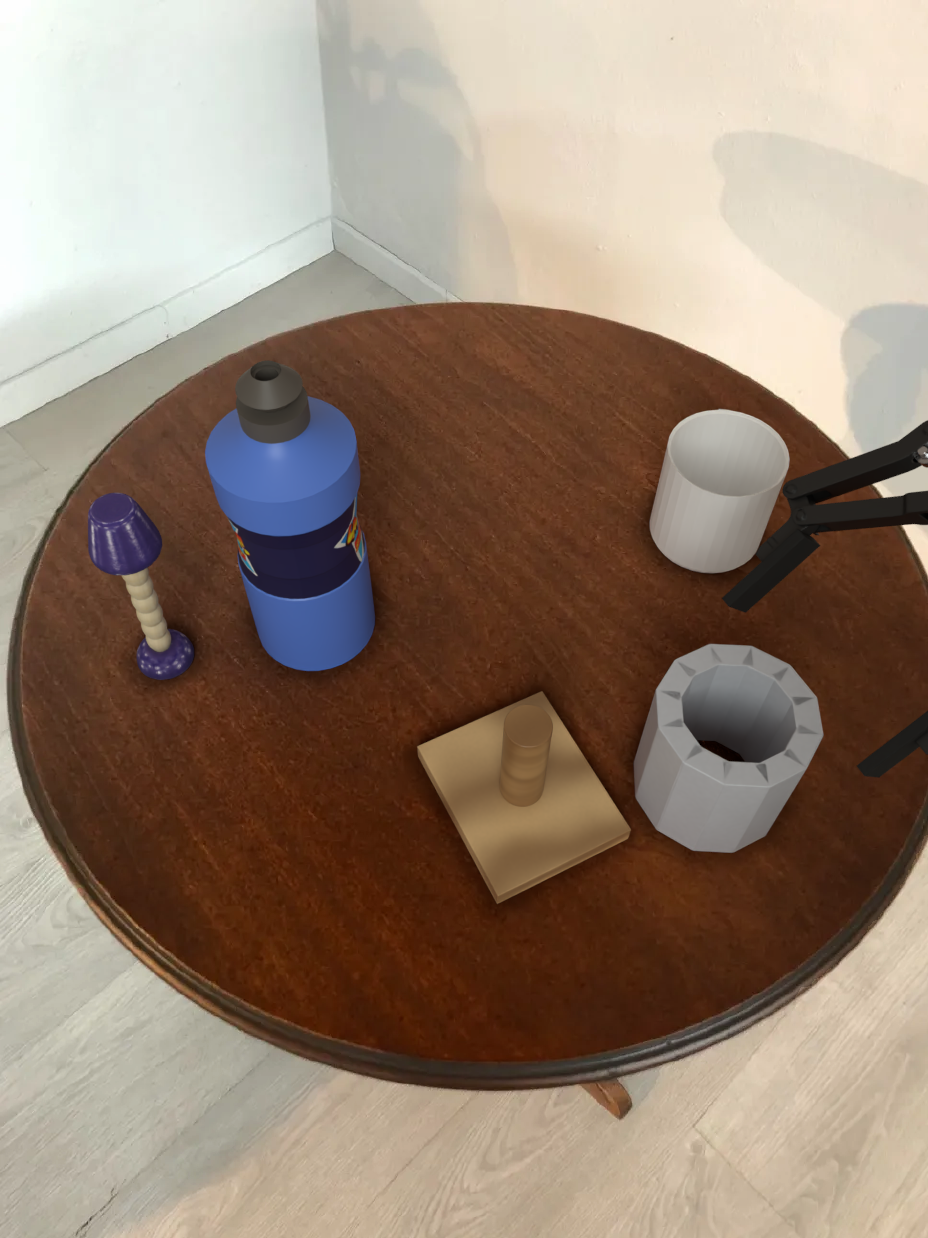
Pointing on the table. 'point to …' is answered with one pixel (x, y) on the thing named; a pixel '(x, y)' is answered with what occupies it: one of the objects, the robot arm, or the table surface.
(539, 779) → the stand
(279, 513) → the water bottle
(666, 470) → the mug
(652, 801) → the silver tape
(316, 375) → the table surface
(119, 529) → the toy lamp
